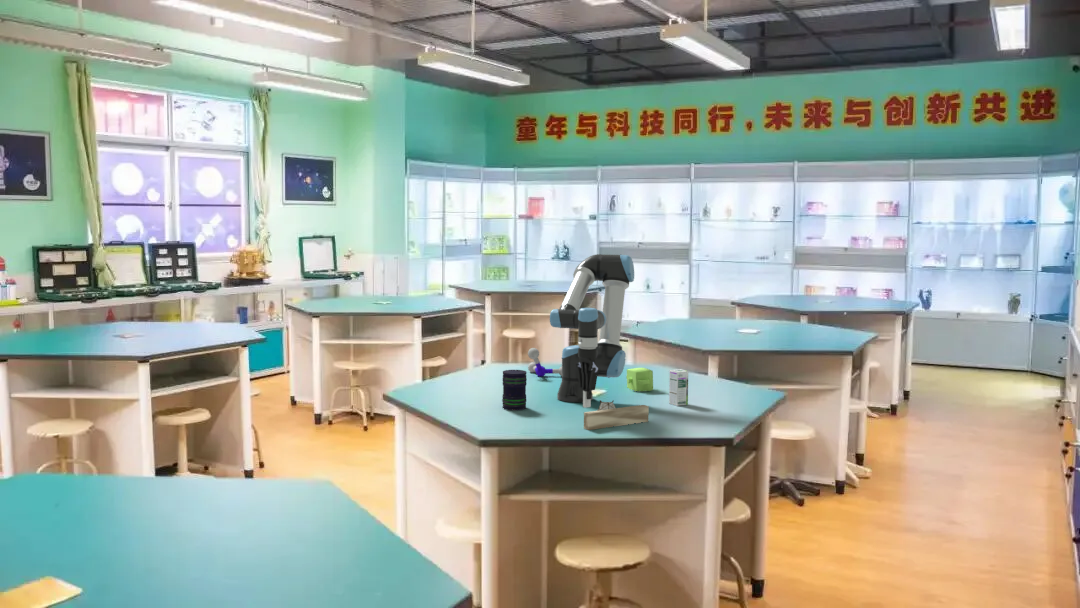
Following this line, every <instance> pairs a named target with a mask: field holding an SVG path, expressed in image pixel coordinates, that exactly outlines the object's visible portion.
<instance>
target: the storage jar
mask: <svg viewBox="0 0 1080 608" xmlns="http://www.w3.org/2000/svg"><path fill="white" fill-rule="evenodd" d="M502 386H503V387H502V393H503V394H502V399H501V402H502V409H503V408H504V409H503V410H505V409H508V410H507V411H523V410H526V409H527V394H526V391H527V389H526V387H527V371H526V370H522V369H506V370H503V371H502Z"/></svg>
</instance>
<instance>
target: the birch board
mask: <svg viewBox="0 0 1080 608" xmlns="http://www.w3.org/2000/svg"><path fill="white" fill-rule="evenodd" d="M649 408H650V406H649V405H646V404H640V405H631V406H625V407H624V406H623V407H616V408H615V409H607V410H599V411H597V410H591V411H585V412H583V429H584V430H587V431H591V430H597V429H598V430H599V429H606V427H607V428H613V426H614V427H620V426H629V425H634V423H636V424H642V423H641V422H643V423H648V422H649V413H650V412H649ZM628 424H629V425H628Z"/></svg>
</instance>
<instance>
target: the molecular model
mask: <svg viewBox="0 0 1080 608" xmlns="http://www.w3.org/2000/svg"><path fill="white" fill-rule="evenodd" d="M527 355H528V358H530V359H532V360H533V361H532V362H530V363H529V364H528V366H527V369H528V371H529V372H530V373H532V374H536V376H538V377H541V378H542V377H543V376H546V375H549V374H553V375H554V374H557V375H560V376H561V377H562V365H561V366H559V368H545V366H542V364H541V361H540V360H539V356H540V351H539V349H538V348H535V347H531V348H529V350H528V351H527Z"/></svg>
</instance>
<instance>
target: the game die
mask: <svg viewBox="0 0 1080 608" xmlns="http://www.w3.org/2000/svg"><path fill="white" fill-rule="evenodd" d="M599 402H600V404H599V406H598V409H597V410H596V411H599V410H607V409H615V408H617V407H616V405H615V404H614V402H615V401H614V400H612V401H602V400H599Z"/></svg>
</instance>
